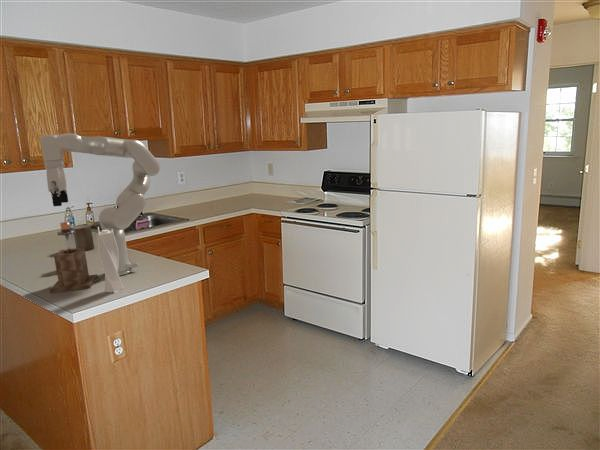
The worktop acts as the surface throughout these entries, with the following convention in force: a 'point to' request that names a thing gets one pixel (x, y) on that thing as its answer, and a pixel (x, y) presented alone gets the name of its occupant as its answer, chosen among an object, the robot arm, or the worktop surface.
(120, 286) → the skyscraper
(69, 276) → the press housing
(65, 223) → the plunger
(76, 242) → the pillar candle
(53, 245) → the worktop surface
